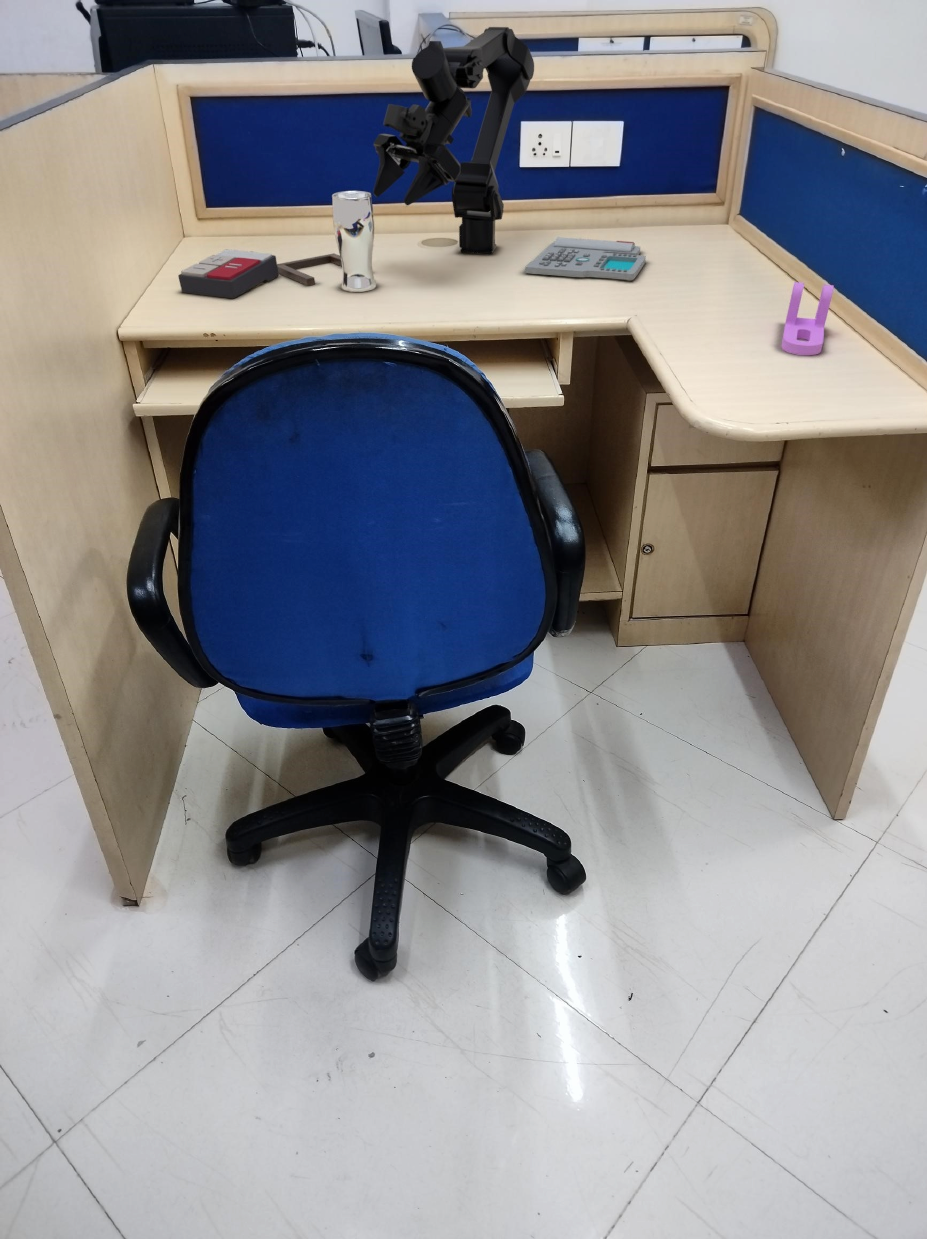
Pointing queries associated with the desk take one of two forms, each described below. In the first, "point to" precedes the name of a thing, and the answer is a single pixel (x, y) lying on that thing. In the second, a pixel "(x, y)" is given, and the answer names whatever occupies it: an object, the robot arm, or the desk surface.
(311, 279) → the frame
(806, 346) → the bracket
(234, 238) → the desk surface
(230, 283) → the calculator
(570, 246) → the office telephone
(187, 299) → the desk surface
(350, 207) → the beer glass
